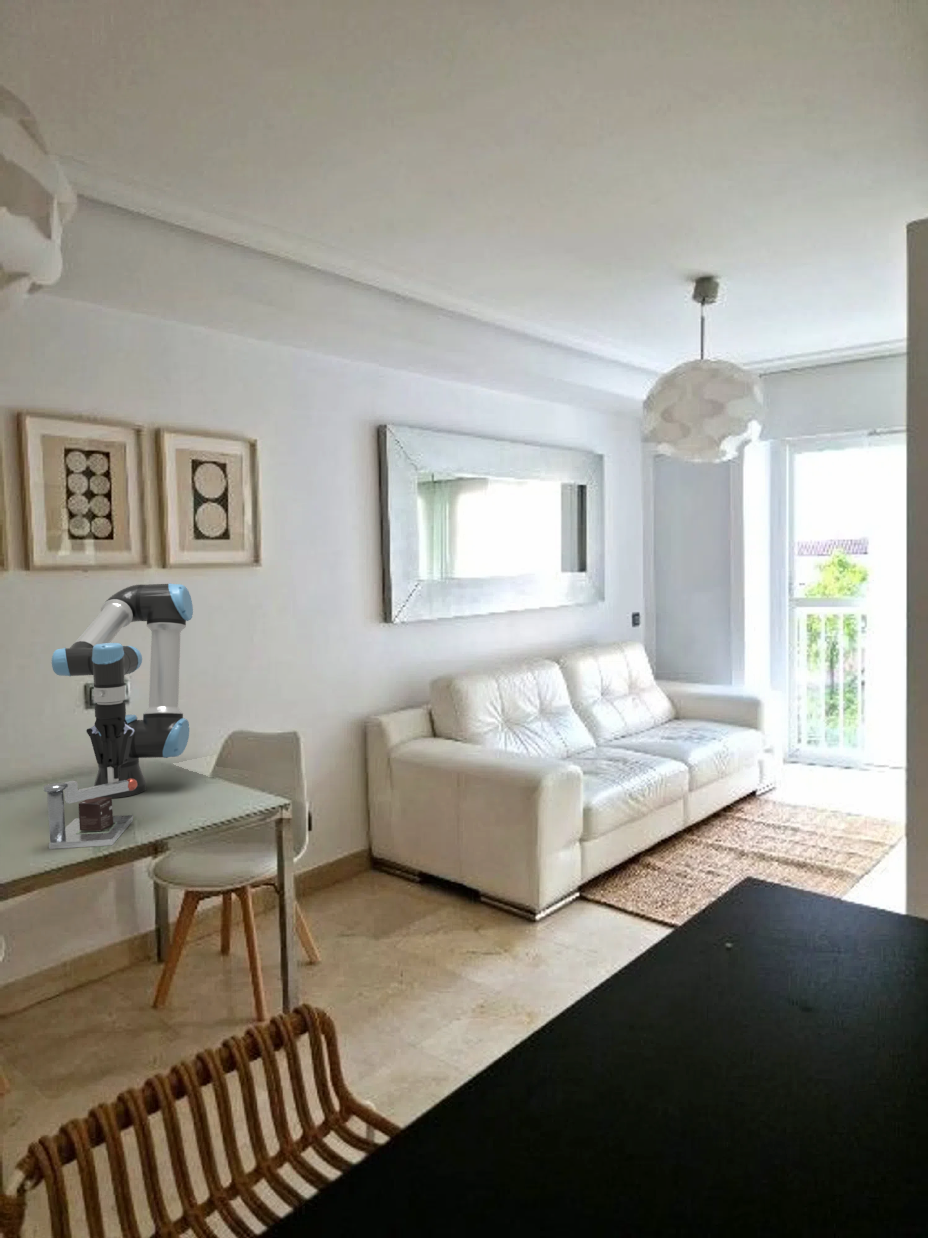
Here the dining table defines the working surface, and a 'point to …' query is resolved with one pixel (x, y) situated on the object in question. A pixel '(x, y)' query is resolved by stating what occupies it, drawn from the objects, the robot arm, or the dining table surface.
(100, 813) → the box
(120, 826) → the press
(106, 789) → the lever
